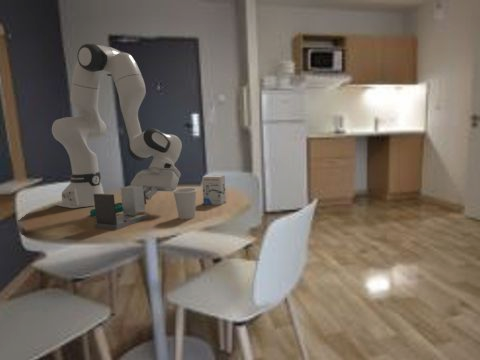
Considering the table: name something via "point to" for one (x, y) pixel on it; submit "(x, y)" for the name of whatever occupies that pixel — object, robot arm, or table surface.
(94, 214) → the digital multimeter
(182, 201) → the dixie cup
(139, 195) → the tall grey rectangular prism
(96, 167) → the robot arm
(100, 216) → the gauge bed
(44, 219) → the table surface
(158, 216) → the table surface
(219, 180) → the ink box
